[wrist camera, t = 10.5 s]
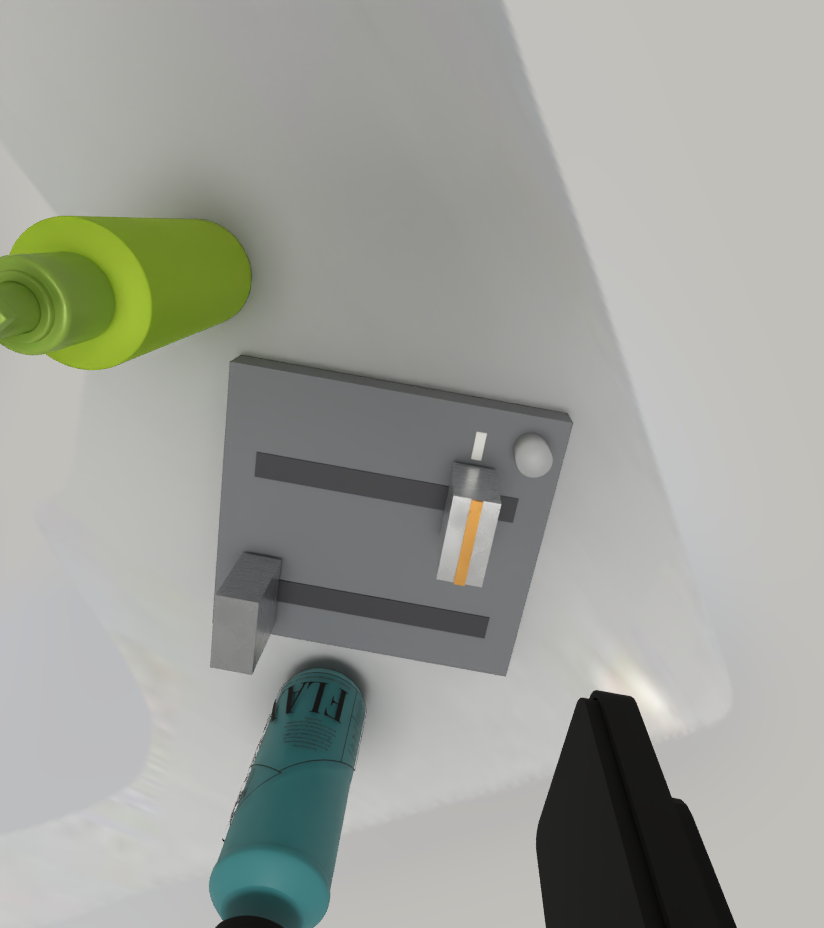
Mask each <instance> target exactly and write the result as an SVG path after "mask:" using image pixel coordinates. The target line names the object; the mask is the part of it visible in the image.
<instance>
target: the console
mask: <svg viewBox="0 0 824 928" xmlns="http://www.w3.org/2000/svg"><path fill="white" fill-rule="evenodd" d="M572 425H573V422H572V420H571V419H570V417H569V415H568V413H562V412H556V411H551V410H545V409H540V408H534V407H528V406H523V405H517V404H512V403H506V402H501V401H495V400H489V399H484V398H478V397H473V396H467V395H461V394H456V393H450V392H445V391H439V390H433V389H428V388H422V387H417V386H411V385H405V384H400V383H394V382H389V381H383V380H377V379H372V378H366V377H361V376H355V375H349V374H344V373H338V372H333V371H327V370H322V369H316V368H310V367H305V366H299V365H294V364H288V363H282V362H277V361H271V360H266V359H260V358H254V357H249V356H243V355H240V356H239V357H237V358H235V359H233V360H232V361H230V369H229V384H228V399H227V414H226V429H225V444H224V459H223V474H222V489H221V504H220V519H219V534H218V549H217V564H216V579H215V594H216V593H217V591H218V590H219V588H220V587H221V585H222V584H223V582H224V580H225V579H226V577H227V576H228V574H229V573H230V571H231V570H232V568H233V567H234V565H235V564H236V562H237V561H238V559H239V558H240V556H241V555H242V553H246V554H252V555H258V556H263V557H269V558H274V559H280V560H281V569H280V579H279V588H278V597H277V607H276V616H275V625H274V628H273V630H272V632H271V634H274V635H279V636H285V637H290V638H296V639H301V640H307V641H312V642H318V643H323V644H329V645H334V646H340V647H346V648H351V649H357V650H362V651H368V652H373V653H379V654H384V655H390V656H395V657H401V658H406V659H412V660H417V661H423V662H428V663H434V664H440V665H445V666H451V667H456V668H462V669H467V670H473V671H478V672H484V673H489V674H495V675H500V676H506V673H507V670H508V666H509V662H510V658H511V655H512V651H513V647H514V643H515V640H516V636H517V632H518V628H519V624H520V621H521V617H522V613H523V609H524V606H525V602H526V598H527V594H528V591H529V587H530V583H531V579H532V575H533V572H534V568H535V564H536V560H537V557H538V553H539V549H540V545H541V542H542V538H543V534H544V530H545V527H546V523H547V519H548V515H549V511H550V508H551V504H552V500H553V496H554V493H555V489H556V485H557V481H558V478H559V474H560V470H561V466H562V463H563V459H564V455H565V451H566V447H567V444H568V440H569V436H570V432H571V429H572ZM454 462H455V463H460V464H466V465H471V466H477V467H482V468H488V469H494V470H496V473H497V479H498V486H499V492H500V499H501V508H500V512H499V517H498V521H497V525H496V529H495V533H494V538H493V542H492V546H491V550H490V555H489V559H488V563H487V567H486V572H485V576H484V580H483V584H482V587H477V586H471V585H466V584H465V586H461V585H455V584H454V582H449V581H443V580H438V579H436V577H437V560H438V544H439V535H440V530H441V525H442V520H443V515H444V510H445V505H446V500H447V495H448V490H449V485H450V480H451V475H452V470H453V465H454ZM215 594H214V602H215ZM213 617H214V609H213Z"/></svg>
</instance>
